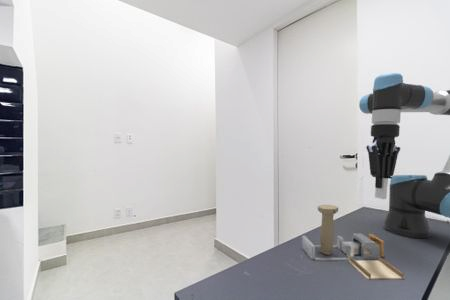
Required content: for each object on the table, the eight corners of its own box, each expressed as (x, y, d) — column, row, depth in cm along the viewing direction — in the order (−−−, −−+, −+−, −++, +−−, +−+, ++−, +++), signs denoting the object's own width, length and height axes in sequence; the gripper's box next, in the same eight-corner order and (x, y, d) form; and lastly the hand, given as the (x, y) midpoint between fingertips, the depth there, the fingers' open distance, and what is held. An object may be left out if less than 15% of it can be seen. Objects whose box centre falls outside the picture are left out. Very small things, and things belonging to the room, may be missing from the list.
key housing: (364, 248, 80) (365, 233, 80) (379, 258, 73) (380, 242, 72) (350, 248, 80) (351, 233, 79) (363, 258, 72) (364, 242, 72)
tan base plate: (380, 261, 71) (381, 256, 71) (404, 279, 62) (405, 273, 62) (348, 261, 70) (348, 256, 70) (367, 279, 61) (367, 273, 61)
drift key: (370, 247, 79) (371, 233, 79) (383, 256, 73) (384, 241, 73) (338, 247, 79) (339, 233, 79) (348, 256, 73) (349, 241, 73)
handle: (339, 254, 75) (341, 207, 74) (325, 258, 72) (326, 210, 72) (327, 248, 79) (329, 204, 79) (313, 251, 77) (314, 205, 76)
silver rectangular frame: (338, 246, 80) (339, 235, 80) (354, 260, 71) (355, 247, 71) (301, 246, 80) (301, 235, 80) (312, 260, 71) (312, 247, 71)
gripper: (386, 126, 81) (382, 194, 81) (359, 123, 76) (355, 196, 76) (411, 125, 74) (406, 199, 74) (383, 122, 69) (378, 202, 70)
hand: (380, 198), depth 75 cm, fingers closed
